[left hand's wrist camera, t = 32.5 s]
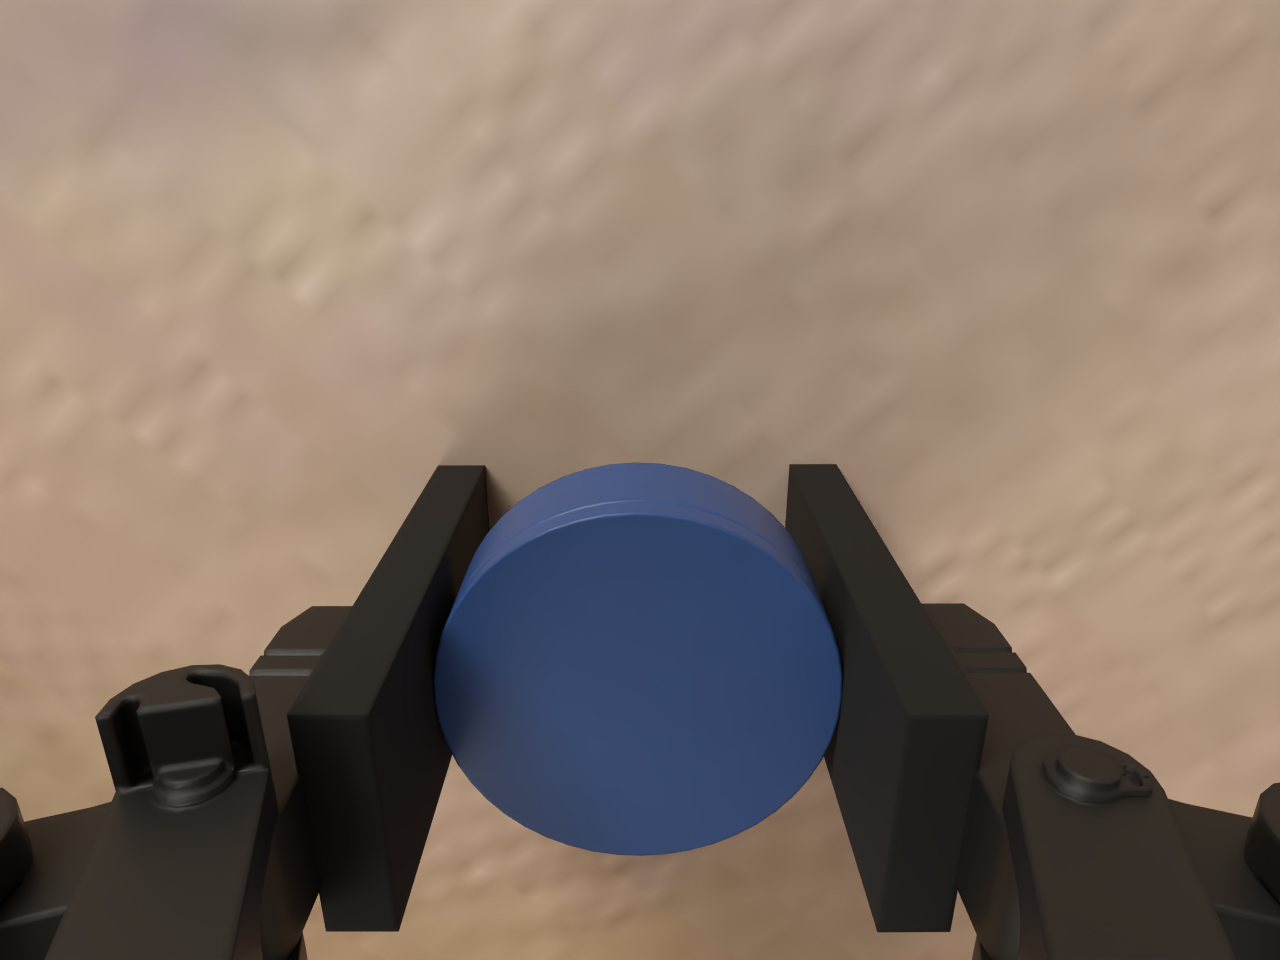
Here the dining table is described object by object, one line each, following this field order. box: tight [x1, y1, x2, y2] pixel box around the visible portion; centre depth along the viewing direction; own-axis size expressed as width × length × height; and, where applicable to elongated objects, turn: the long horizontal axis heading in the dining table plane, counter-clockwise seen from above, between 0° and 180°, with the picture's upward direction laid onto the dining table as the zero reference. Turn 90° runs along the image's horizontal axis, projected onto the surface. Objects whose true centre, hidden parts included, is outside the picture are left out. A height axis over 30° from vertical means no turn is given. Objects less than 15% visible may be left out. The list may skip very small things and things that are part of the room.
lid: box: [433, 463, 843, 856], centre depth 11 cm, size 5×5×2 cm
